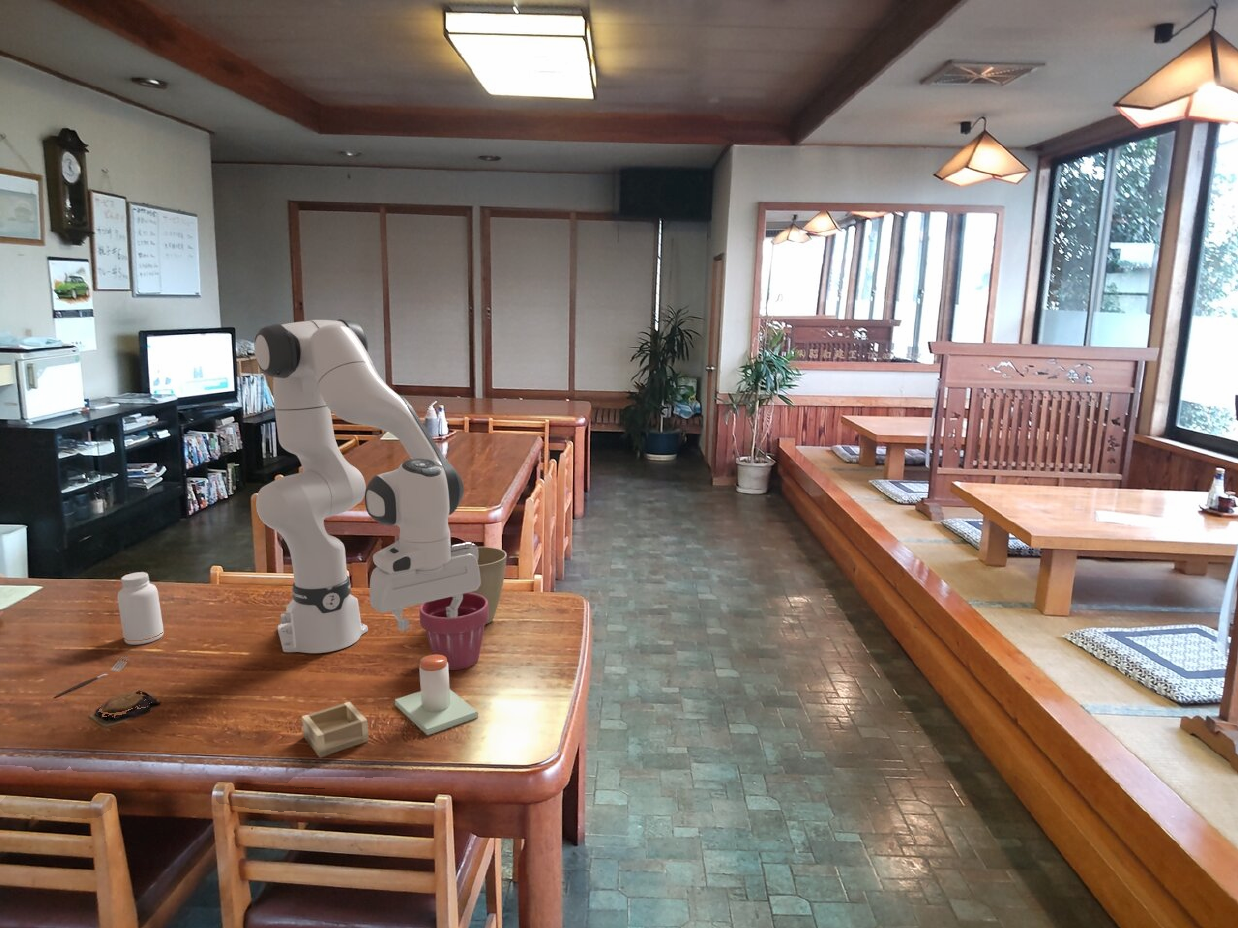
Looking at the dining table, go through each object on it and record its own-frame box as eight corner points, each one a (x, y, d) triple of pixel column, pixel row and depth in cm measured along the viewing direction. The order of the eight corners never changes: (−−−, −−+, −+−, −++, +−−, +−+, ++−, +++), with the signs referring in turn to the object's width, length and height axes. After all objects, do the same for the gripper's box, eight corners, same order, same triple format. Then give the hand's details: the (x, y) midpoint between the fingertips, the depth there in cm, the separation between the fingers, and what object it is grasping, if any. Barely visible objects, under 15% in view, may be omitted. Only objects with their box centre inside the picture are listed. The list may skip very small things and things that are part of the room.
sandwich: (106, 732, 151) (103, 713, 151) (86, 718, 156) (83, 699, 156) (166, 708, 160) (164, 690, 159) (146, 695, 165) (143, 678, 164)
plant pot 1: (477, 678, 169) (474, 618, 166) (411, 673, 171) (407, 614, 168) (499, 648, 182) (497, 593, 180) (438, 644, 185) (435, 589, 182)
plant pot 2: (520, 622, 196) (517, 557, 193) (461, 638, 188) (457, 570, 185) (492, 603, 208) (489, 542, 205) (435, 617, 200) (431, 553, 197)
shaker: (417, 703, 156) (414, 659, 154) (442, 695, 159) (440, 651, 157) (429, 714, 152) (426, 668, 150) (455, 706, 155) (452, 660, 153)
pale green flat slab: (395, 705, 158) (394, 699, 158) (443, 689, 164) (443, 683, 164) (427, 735, 147) (426, 729, 147) (478, 717, 153) (477, 711, 153)
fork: (49, 699, 163) (47, 689, 163) (122, 664, 178) (121, 656, 177) (58, 701, 162) (57, 691, 162) (131, 666, 177) (130, 657, 177)
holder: (303, 737, 147) (301, 716, 147) (351, 721, 152) (349, 701, 152) (319, 757, 141) (317, 736, 140) (368, 740, 146) (367, 719, 145)
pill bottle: (115, 642, 188) (106, 579, 185) (147, 629, 196) (138, 568, 192) (141, 647, 185) (131, 583, 182) (172, 633, 193) (163, 571, 189)
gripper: (469, 535, 158) (471, 604, 161) (363, 556, 146) (368, 630, 149) (485, 544, 153) (487, 615, 156) (378, 566, 141) (381, 642, 144)
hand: (428, 622), depth 152 cm, fingers open, 8 cm apart
